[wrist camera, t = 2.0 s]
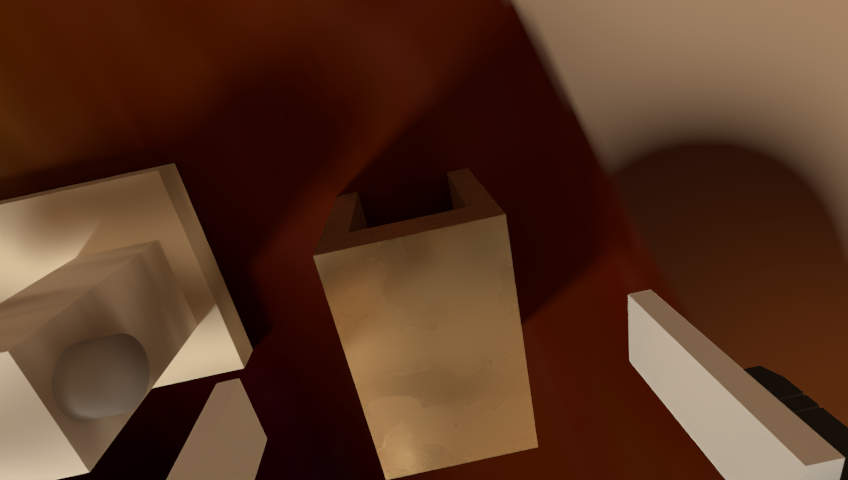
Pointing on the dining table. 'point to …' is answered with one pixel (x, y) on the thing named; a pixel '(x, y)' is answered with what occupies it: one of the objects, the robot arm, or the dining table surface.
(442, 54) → the dining table surface
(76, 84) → the dining table surface
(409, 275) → the block
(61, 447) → the shaft rig
